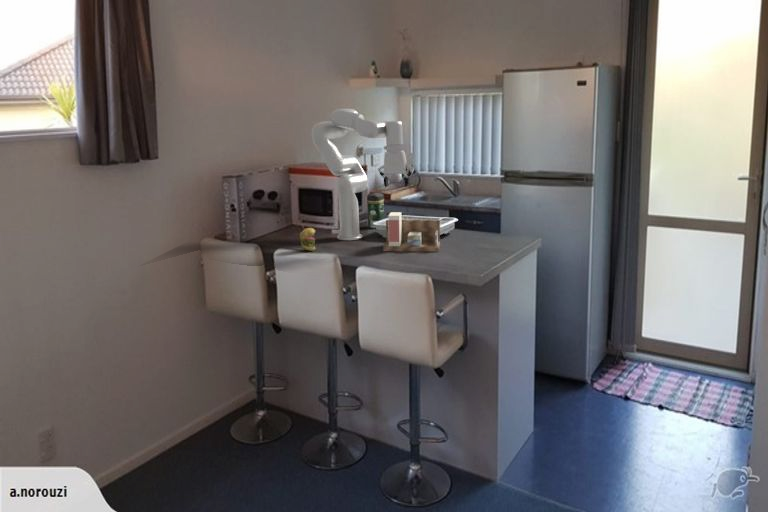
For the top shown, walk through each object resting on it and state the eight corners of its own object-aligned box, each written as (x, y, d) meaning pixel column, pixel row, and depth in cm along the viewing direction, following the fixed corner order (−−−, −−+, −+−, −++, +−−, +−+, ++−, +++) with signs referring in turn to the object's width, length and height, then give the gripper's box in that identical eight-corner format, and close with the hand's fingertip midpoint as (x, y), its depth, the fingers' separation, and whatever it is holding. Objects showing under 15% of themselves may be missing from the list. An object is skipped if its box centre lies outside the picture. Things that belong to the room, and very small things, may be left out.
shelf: (383, 251, 294) (382, 225, 291) (386, 244, 306) (386, 219, 304) (438, 251, 290) (438, 225, 288) (439, 245, 303) (439, 220, 300)
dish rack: (397, 227, 348) (397, 212, 346) (461, 232, 331) (461, 217, 329) (368, 238, 321) (368, 223, 319) (436, 245, 304) (436, 228, 302)
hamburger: (316, 252, 294) (314, 226, 291) (300, 253, 294) (298, 227, 291) (316, 248, 302) (315, 223, 299) (300, 249, 301) (299, 223, 298)
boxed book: (388, 246, 294) (388, 215, 291) (391, 241, 303) (390, 212, 300) (399, 246, 294) (399, 215, 290) (401, 241, 302) (401, 212, 299)
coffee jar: (373, 225, 354) (372, 191, 350) (386, 226, 351) (386, 192, 346) (365, 228, 346) (364, 193, 342) (378, 229, 342) (377, 194, 338)
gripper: (374, 149, 293) (376, 187, 297) (410, 148, 287) (412, 187, 291) (379, 148, 300) (381, 185, 304) (415, 147, 294) (417, 185, 298)
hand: (396, 186), depth 297 cm, fingers open, 9 cm apart
